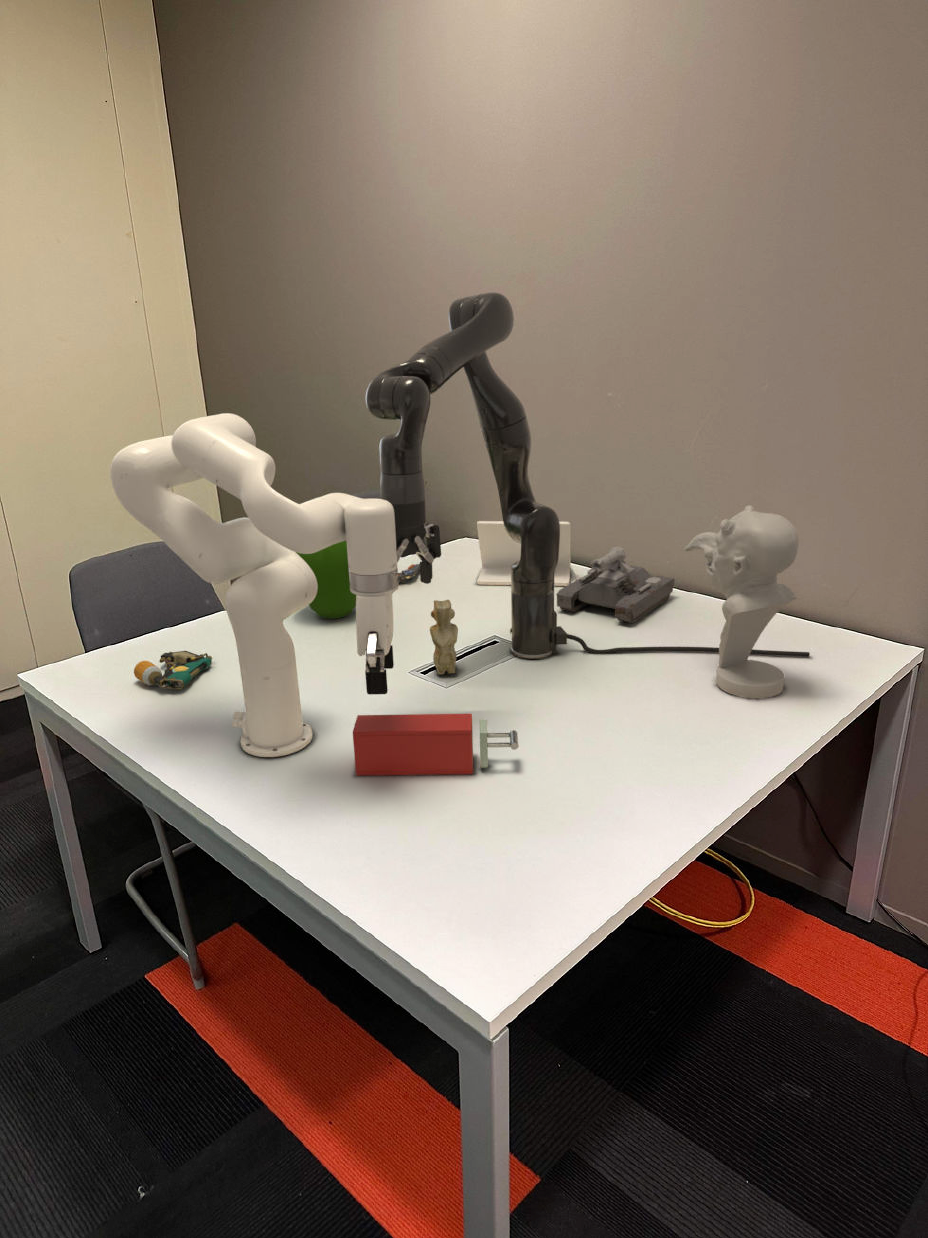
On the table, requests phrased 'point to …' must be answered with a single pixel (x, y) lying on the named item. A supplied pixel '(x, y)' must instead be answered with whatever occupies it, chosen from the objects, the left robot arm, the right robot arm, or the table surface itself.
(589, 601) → the toy
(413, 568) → the toy gun
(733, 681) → the bust sculpture
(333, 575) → the vase
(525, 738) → the table surface
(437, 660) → the sculpture
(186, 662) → the green toy blaster
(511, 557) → the tablet stand
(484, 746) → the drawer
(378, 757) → the cabinet
